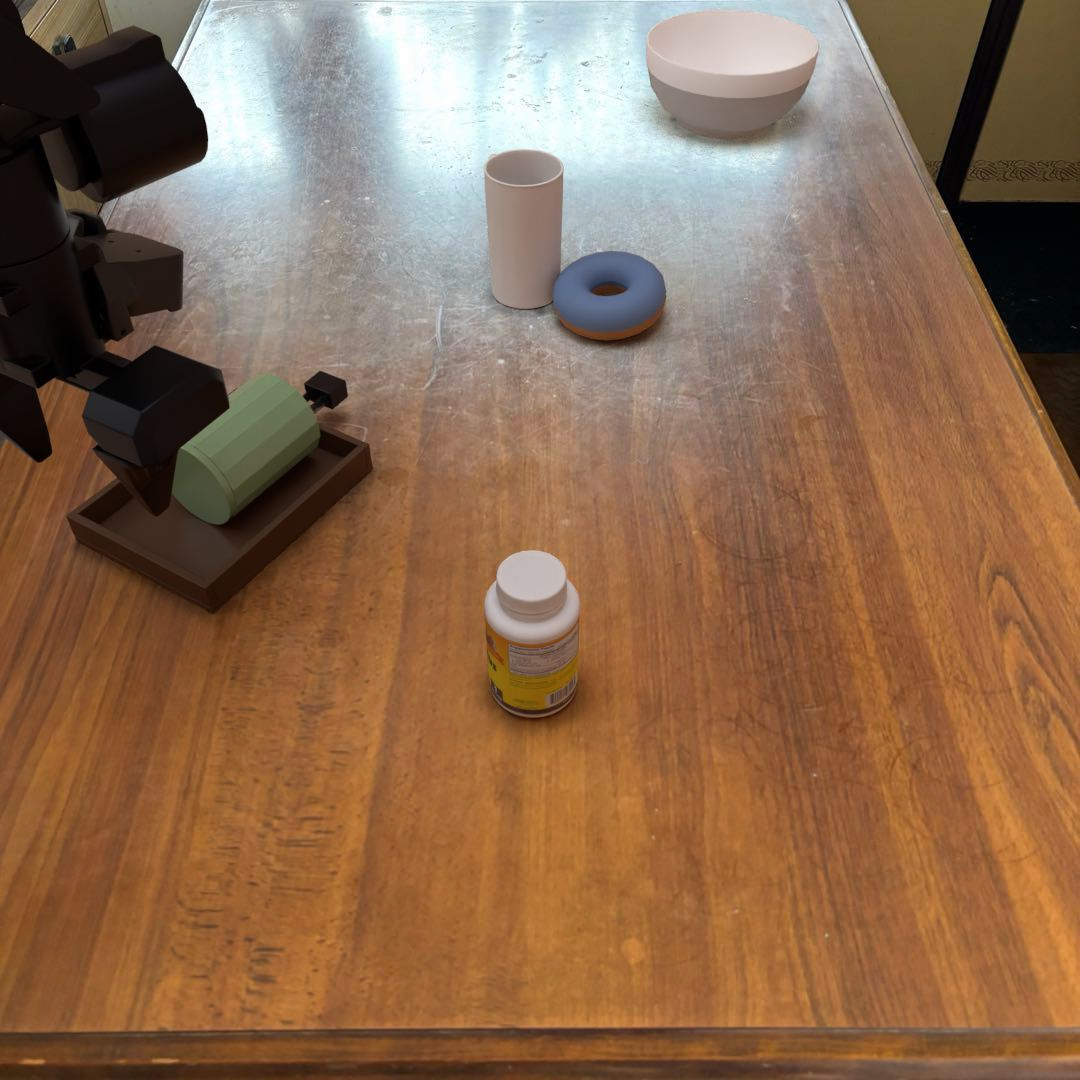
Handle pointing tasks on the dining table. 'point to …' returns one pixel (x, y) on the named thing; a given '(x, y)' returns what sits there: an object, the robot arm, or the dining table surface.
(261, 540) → the tray
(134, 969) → the dining table surface
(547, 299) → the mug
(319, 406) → the black component with leads
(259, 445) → the cup
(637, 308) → the doughnut
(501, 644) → the supplement bottle
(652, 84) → the bowl
